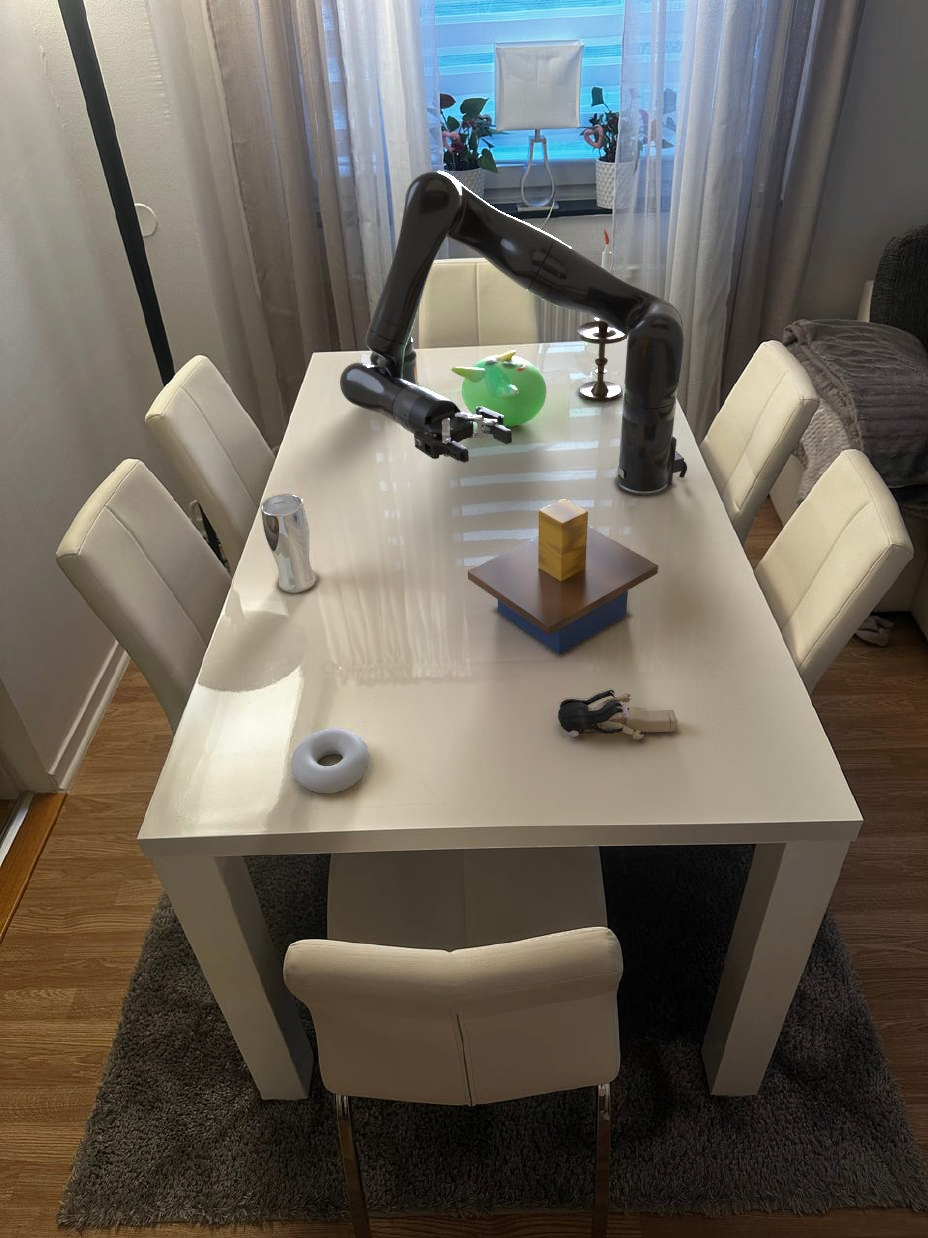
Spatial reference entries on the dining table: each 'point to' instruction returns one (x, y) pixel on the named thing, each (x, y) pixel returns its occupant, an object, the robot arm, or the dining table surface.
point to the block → (562, 539)
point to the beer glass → (289, 541)
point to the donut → (335, 775)
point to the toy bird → (504, 387)
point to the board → (570, 599)
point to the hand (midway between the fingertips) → (488, 447)
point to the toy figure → (612, 717)
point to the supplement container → (404, 363)
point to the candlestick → (600, 348)
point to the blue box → (573, 624)
